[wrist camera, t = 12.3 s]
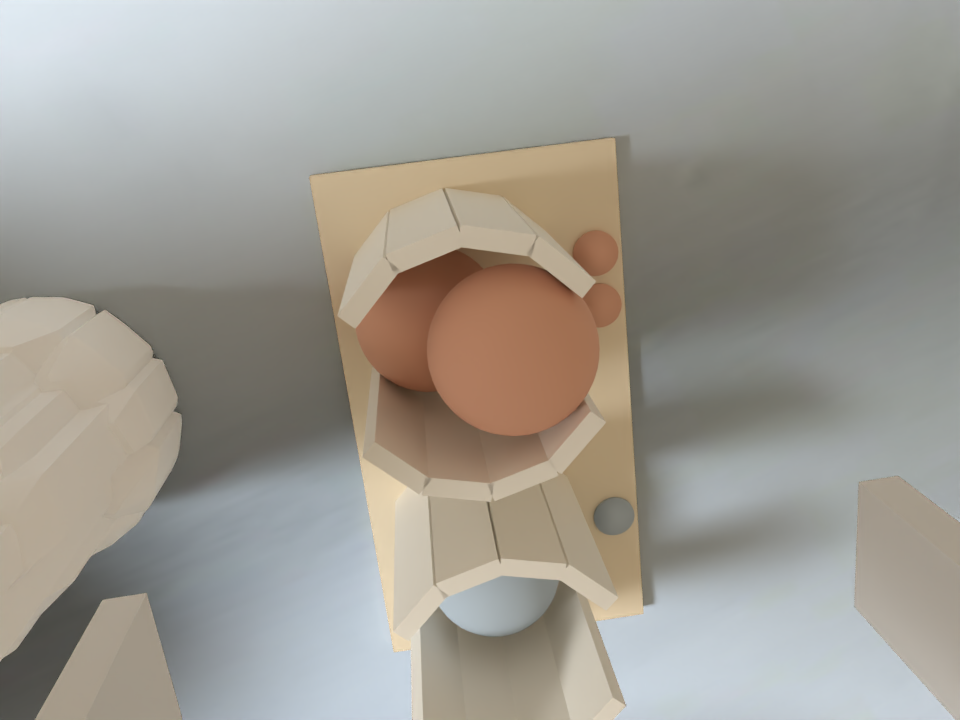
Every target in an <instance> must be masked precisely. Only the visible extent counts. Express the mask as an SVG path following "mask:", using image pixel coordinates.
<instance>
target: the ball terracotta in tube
mask: <svg viewBox="0 0 960 720" xmlns="http://www.w3.org/2000/svg"><path fill="white" fill-rule="evenodd" d="M482 269H483V268H482V267H481V266H480V265H479V264H478V263H477V262H476V261H474V260H473V259H472V258H470V257H469V256H467V255H466V254H464V253H462V252H460V251H458V250H454V251H452V252H449V253H447V254H444V255H442V256H439V257H437V258H434V259H432V260H430V261H427V262H425V263H422V264H420V265H417V266H415V267H413V268H410V269H408V270H405V271H403V272H400V273H398V274H397V275H396V277H395V278H394V279H393V281H392V282H391V283H390V284H389V286H388V287H387V288H386V290H385V291H384V292H383V294H382V295H381V296H380V297H379V299H378V300H377V301H376V303H375V304H374V305H373V307H372V308H371V309H370V311H369V312H368V313H367V314H366V316H365V317H364V318H363V320H362V321H361V322H360V324H359V325H358V326H357V327H356V334H357V338H358V341H359V344H360V346H361V349H362V351H363V353H364V355H365V356H366V358H367V359H368V361H369V362H370V363H371V365H372V366H373V367H374V368H375V369H376V370H377V371H378V372H379V373H380V374H381V375H382V376H384V377H385V378H386V379H388V380H389V381H391V382H393V383H395V384H396V385H398V386H401V387H404V388H406V389H411V390H415V391H421V392H436V391H437V389H436V387H435V385H434V383H433V381H432V377H431V374H430V371H429V367H428V359H427V339H428V333H429V329H430V325H431V322H432V320H433V317H434V315H435V312H436V310H437V309H438V307H439V305H440V303H441V302H442V300H443V299H444V298H445V297H446V295H447V294H448V293H449V292H450V291H451V290H452V289H453V288H454V287H455V286H456V285H457V284H458V283H459V282H461V281H462V280H463V279H465V278H466V277H468V276H470V275H472V274H473V273H475V272H477V271H480V270H482Z"/></svg>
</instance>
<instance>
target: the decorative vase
mask: <svg viewBox="0 0 960 720" xmlns="http://www.w3.org/2000/svg"><path fill="white" fill-rule="evenodd" d="M177 401H178V396H177V393H176V391H175V389H174V386H173V384H172V382H171V379H170V377H169V374H168V372H167V370H166V367H165V365H164V363H163V360H160V359H155V358H153V350H152V348H151V346H150V345H149V344H148V343H147V342H145V341H144V340H143V339H142V338H141V337H140V336H138V335H137V334H136V333H135V332H134V331H133V330H131V329H130V328H129V327H128V326H127V325H126V324H124V323H123V322H122V321H120V320H119V319H118V318H116V317H115V316H113V315H112V314H111V313H109V312H108V311H107V310H104V311H102V312H100V313H99V314H97V315H96V312H95V308H94V305H91V304H87V303H84V302H80V301H76V300H73V299H69V298H65V297H30V298H28V299H27V298H20V299H14V300H9V301H7V302H4V303H2V304H0V661H1V660H2V658H4V657H5V656H7V655H9V654H10V653H12V652H13V651H15V650H16V649H17V648H18V646H19V645H20V644H21V642H22V641H23V640H24V638H25V637H26V635H27V634H28V633H29V631H30V630H31V628H32V627H33V625H34V624H35V623H36V621H37V620H38V618H39V617H40V615H41V614H42V613H43V612H44V611H45V610H46V609H47V608H48V607H49V606H50V605H51V604H52V603H53V602H54V601H55V600H56V599H57V598H58V597H59V596H60V595H61V594H62V593H63V592H64V591H65V590H66V589H67V588H68V587H69V586H70V585H71V584H72V583H73V582H74V581H75V579H76V578H77V576H78V575H79V573H80V572H81V570H82V569H83V567H84V566H85V564H86V563H87V561H88V560H89V558H90V557H91V556H92V555H94V554H96V553H98V552H100V551H102V550H103V549H105V548H107V547H109V546H111V545H112V544H114V543H115V542H116V541H117V540H118V539H120V538H121V537H122V536H123V535H124V534H126V533H127V532H128V531H129V530H130V529H132V528H133V527H134V526H135V525H136V524H137V523H138V522H139V521H140V519H141V518H142V516H143V515H144V513H145V511H146V510H147V509H148V508H149V507H150V505H151V504H152V502H153V500H154V499H155V497H156V495H157V494H158V492H159V490H160V489H161V487H162V485H163V484H164V482H165V480H166V479H167V477H168V475H169V474H170V472H171V470H172V469H173V466H174V464H175V462H176V460H177V458H178V453H179V448H180V439H181V429H182V416H181V414H180V413H177V412H174V409H175V408H176V406H177Z"/></svg>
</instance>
